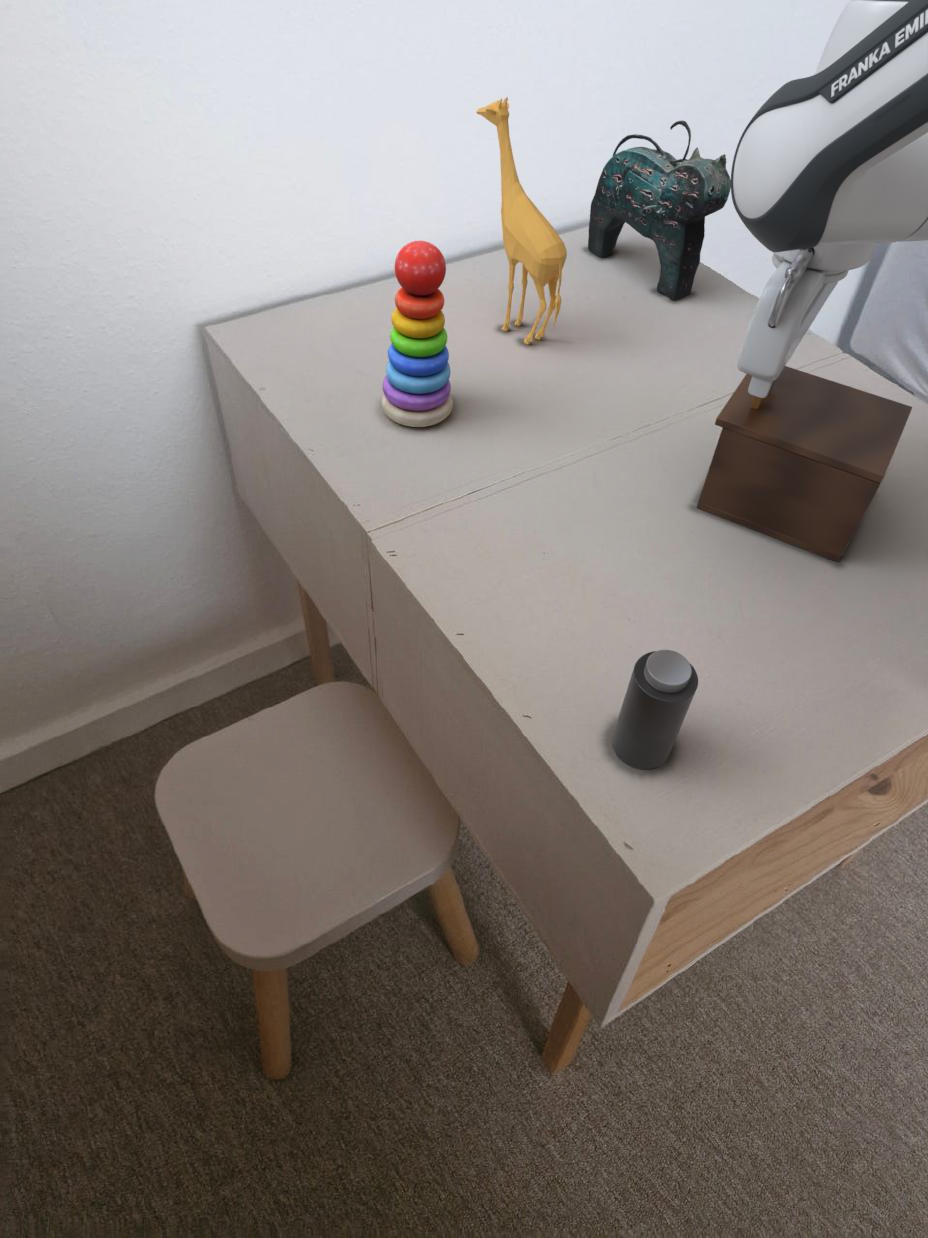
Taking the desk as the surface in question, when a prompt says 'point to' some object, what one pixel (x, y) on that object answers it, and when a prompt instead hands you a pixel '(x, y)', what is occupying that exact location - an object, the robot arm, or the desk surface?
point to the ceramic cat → (659, 206)
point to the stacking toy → (418, 341)
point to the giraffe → (525, 231)
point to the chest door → (820, 421)
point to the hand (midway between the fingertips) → (770, 373)
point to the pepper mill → (654, 708)
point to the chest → (785, 494)
